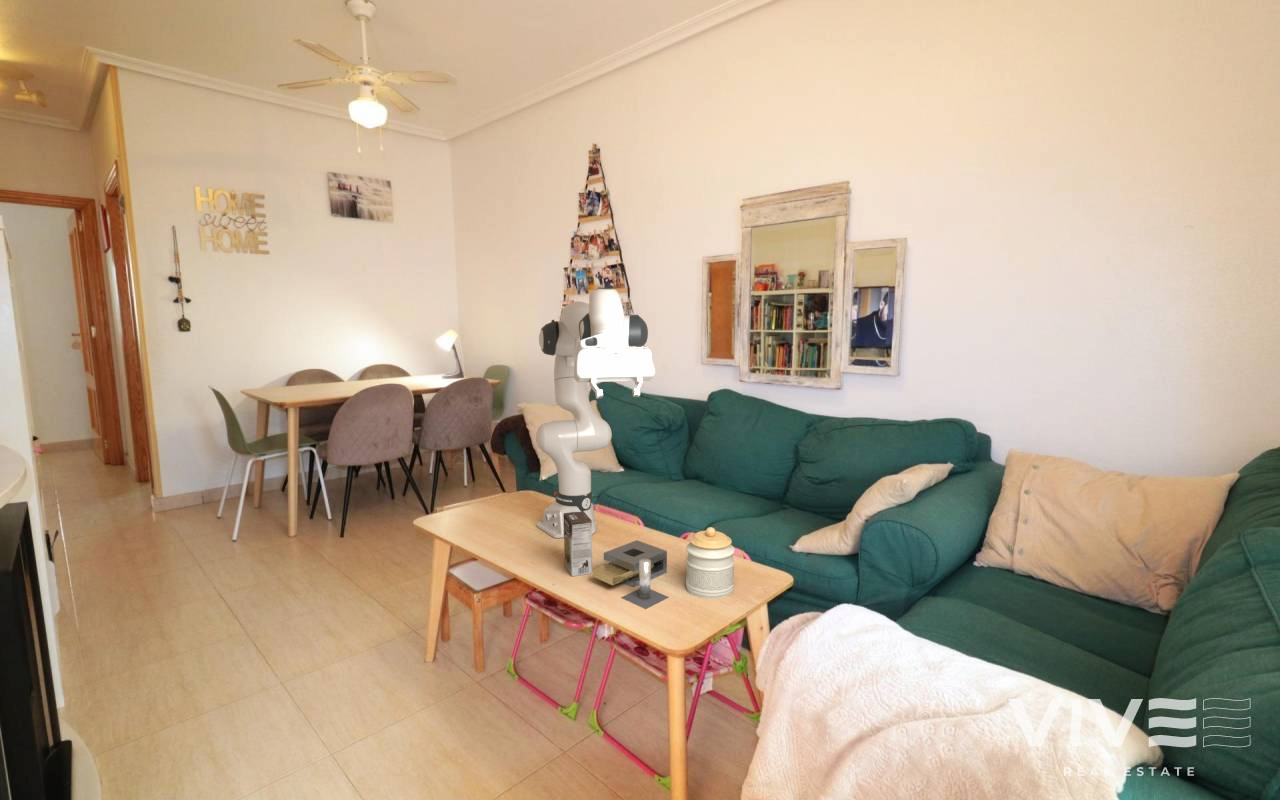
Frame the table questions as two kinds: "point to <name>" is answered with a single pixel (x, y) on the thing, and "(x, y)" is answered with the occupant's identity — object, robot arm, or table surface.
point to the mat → (645, 604)
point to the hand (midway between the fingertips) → (618, 396)
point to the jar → (710, 565)
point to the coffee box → (578, 543)
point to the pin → (644, 579)
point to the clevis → (631, 563)
